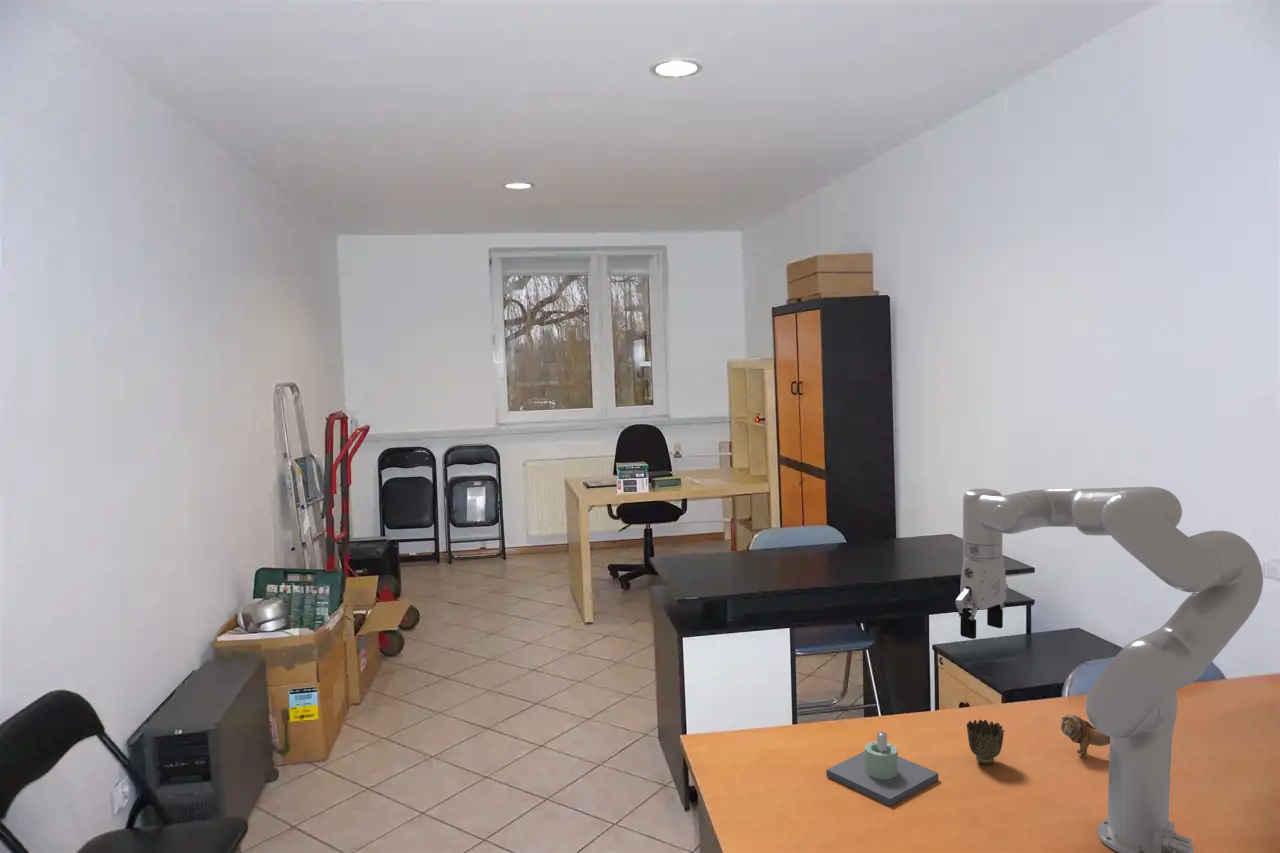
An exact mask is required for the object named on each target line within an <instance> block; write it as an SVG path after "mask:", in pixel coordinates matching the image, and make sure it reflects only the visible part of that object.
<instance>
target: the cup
mask: <svg viewBox="0 0 1280 853" xmlns="http://www.w3.org/2000/svg"><path fill="white" fill-rule="evenodd" d="M966 730H967V738H968V739H967V740H968V746H969V748H970V751H971V752H972V753H973V754H974V756H975V759H976V761H977V763H979V764H981V765H983V766H991V765H992V764H994V762H995V758H996V757H998V756H999V755H1000V754H1001V752H1002V748H1003V741H1004V735H1005V729H1003V725H1000V723H999V722H996V723H994V722H993V720H991V721H990V722H988V721H987V719H984V720H983V719H979V720H978V721H977V720H976V719H974V720H973V722H972V721H971V720H969V721H968V723H966Z"/></svg>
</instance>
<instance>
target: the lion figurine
mask: <svg viewBox="0 0 1280 853" xmlns="http://www.w3.org/2000/svg"><path fill="white" fill-rule="evenodd" d="M1060 729H1061V731H1062V733H1063V734H1064V735H1065V736H1066V737H1068V738H1069V739H1070V740H1071V742H1073V743H1076V744H1078V745H1079V749H1077V750H1076V753H1077V754H1080V755H1079V756H1078V757H1079V758H1080V759H1081V760H1085V759H1087V756H1088V749H1089V747H1090V745H1092V746H1096V747H1105V746H1108V745H1110V737H1109V736H1106V735H1104V734H1102V733H1101V732H1099V731H1098V730H1097V729H1096V728H1095V727H1094V726H1093V725H1092V724H1091V722H1090V721H1087V720H1084V719H1083V718H1081V717H1080V716H1078V715H1075V714H1069V713H1067V714H1065V715H1064V716H1061V723H1060Z"/></svg>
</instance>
